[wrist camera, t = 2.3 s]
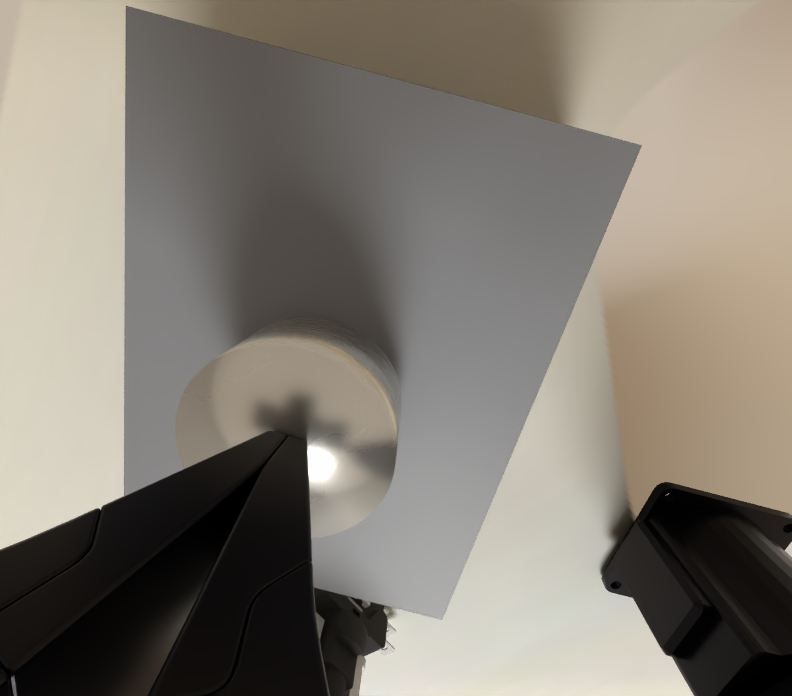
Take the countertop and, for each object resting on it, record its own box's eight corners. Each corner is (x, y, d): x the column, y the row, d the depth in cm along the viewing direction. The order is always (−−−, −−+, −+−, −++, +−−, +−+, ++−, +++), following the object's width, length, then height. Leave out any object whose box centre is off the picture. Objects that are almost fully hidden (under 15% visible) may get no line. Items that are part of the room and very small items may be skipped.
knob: (423, 302, 14) (421, 379, 7) (393, 409, 16) (368, 559, 9) (302, 269, 14) (180, 317, 7) (284, 380, 16) (170, 509, 9)
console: (563, 173, 13) (641, 145, 8) (437, 517, 18) (442, 619, 14) (234, 84, 13) (125, 6, 8) (201, 457, 18) (123, 539, 14)
